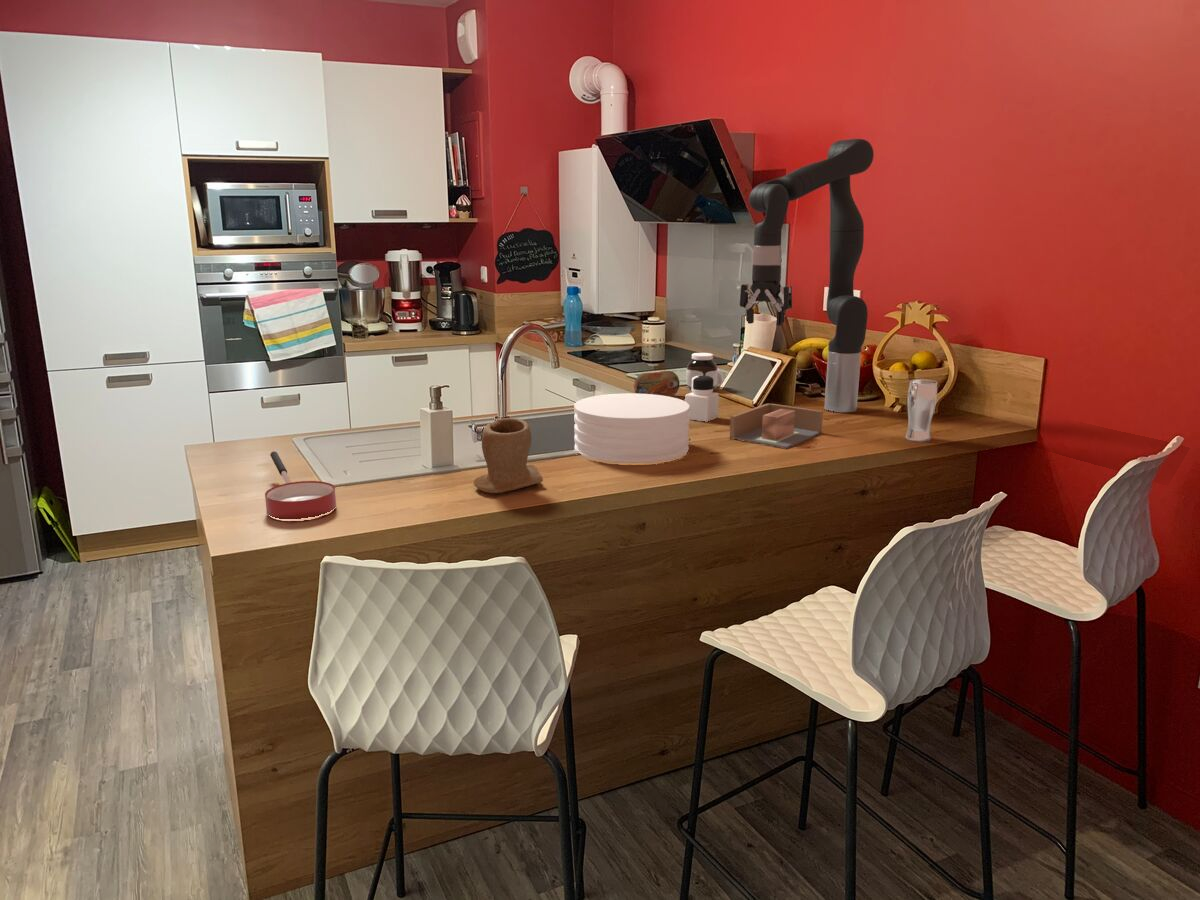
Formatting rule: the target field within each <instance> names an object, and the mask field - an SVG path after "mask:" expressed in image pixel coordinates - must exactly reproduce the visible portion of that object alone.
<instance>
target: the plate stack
mask: <svg viewBox="0 0 1200 900" xmlns="http://www.w3.org/2000/svg"><path fill="white" fill-rule="evenodd" d="M573 412H574V414H573V415H574V416H573V417H574V418H573V420H574V423H575V424H574V425H573V427H574V452H575V451H579V450H582V451H579V452H577V453H580V454H581V455H582V456H584V457H586V458H589V459H594V460H598V461H605V462H613V463H655V462H662V461H668V460H673V459H676V458H679V457H682V456H684V455H685V454H686V453H687V452H688V450H690V448H689V447H690V446H689V443H690V436H689V433H690V425H689V423H690V420H689V412H690V405H689V404H688V403H687V402H685V400H682V399H680V398H677V397H674V396H672V397H668V396H662V395H654V394H636V393H635V392H634V393H633V392H632V393H626V392H625V393H609V394H599V395H593V396H588V397H586V398H585V397H584V398H582V399H579V400H577V401H576V402H575V403H574V404H573ZM688 453H689V452H688Z"/></svg>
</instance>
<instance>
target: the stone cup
mask: <svg viewBox="0 0 1200 900" xmlns="http://www.w3.org/2000/svg"><path fill="white" fill-rule="evenodd" d="M531 445H532V432H531V429H530V426H529V424H528V422H527V421H525V420H522V419H519V418H515V417H506V418H505V417H503V418H499V419H497V420H495V421H493V422H489V423H488V424H486V425H485V426H484V428H483V430H482V434H481V450H482V455H483V457H484V461H485V463H486V466H487V474H484V475H481V476H479V477H476V478H475V479H474V480H473V485H474V487H475V488H477V490H480V491H483V492H485V493H489V494H500V493H505V492H510V491H514V490H519V489H522V488H526V487H530V486H533V485H537V484H539V483H540V484H541V483H542V482H543V481H544V478H543V475H541V472H539V471H540V470H539V471H538V468H537V466H536V465H535V464H528V458H529V453H530V449H531Z"/></svg>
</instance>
